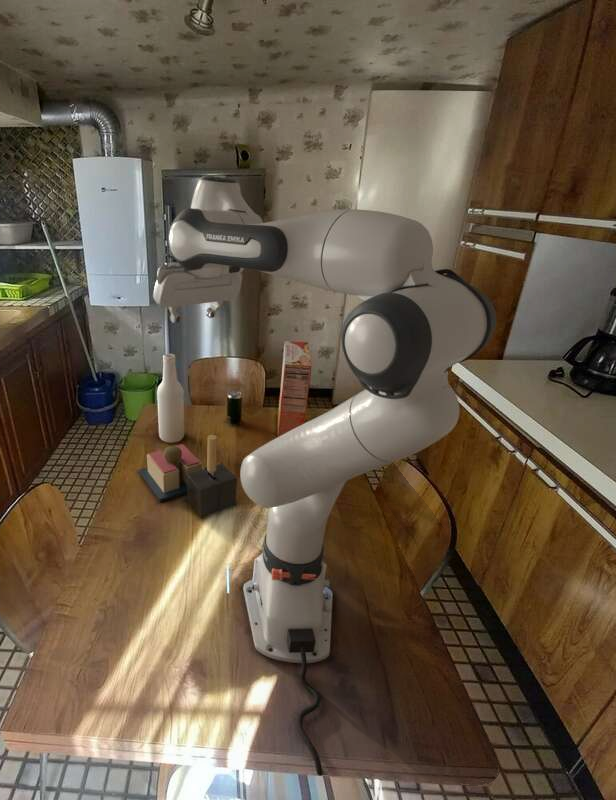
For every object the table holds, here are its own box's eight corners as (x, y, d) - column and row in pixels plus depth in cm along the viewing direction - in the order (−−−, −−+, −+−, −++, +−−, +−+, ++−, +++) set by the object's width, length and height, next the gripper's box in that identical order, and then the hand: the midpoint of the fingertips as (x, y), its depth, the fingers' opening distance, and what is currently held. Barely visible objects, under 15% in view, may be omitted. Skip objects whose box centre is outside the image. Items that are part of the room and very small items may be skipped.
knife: (217, 504, 119) (218, 438, 110) (209, 507, 118) (210, 440, 109) (212, 499, 121) (213, 433, 112) (205, 501, 120) (205, 436, 111)
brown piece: (180, 487, 125) (179, 455, 120) (160, 485, 126) (159, 453, 122) (186, 475, 131) (185, 444, 126) (166, 473, 132) (165, 442, 127)
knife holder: (235, 505, 119) (237, 478, 115) (200, 518, 114) (200, 490, 110) (221, 489, 125) (221, 463, 121) (186, 501, 120) (186, 474, 116)
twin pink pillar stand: (210, 485, 127) (211, 463, 124) (160, 502, 120) (159, 479, 116) (186, 458, 139) (186, 438, 136) (139, 472, 132) (137, 451, 129)
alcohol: (184, 430, 156) (183, 350, 143) (184, 443, 148) (182, 360, 135) (160, 430, 155) (156, 350, 142) (158, 443, 147) (153, 360, 134)
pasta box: (278, 416, 166) (284, 341, 153) (299, 418, 165) (307, 342, 152) (277, 447, 146) (284, 364, 133) (301, 450, 145) (311, 365, 132)
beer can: (234, 427, 158) (235, 397, 153) (223, 422, 162) (224, 392, 156) (244, 422, 162) (245, 393, 156) (233, 417, 165) (234, 388, 160)
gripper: (166, 270, 83) (158, 332, 91) (250, 264, 93) (236, 320, 102) (151, 256, 86) (145, 317, 95) (234, 252, 97) (221, 307, 106)
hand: (192, 318), depth 99 cm, fingers open, 8 cm apart
